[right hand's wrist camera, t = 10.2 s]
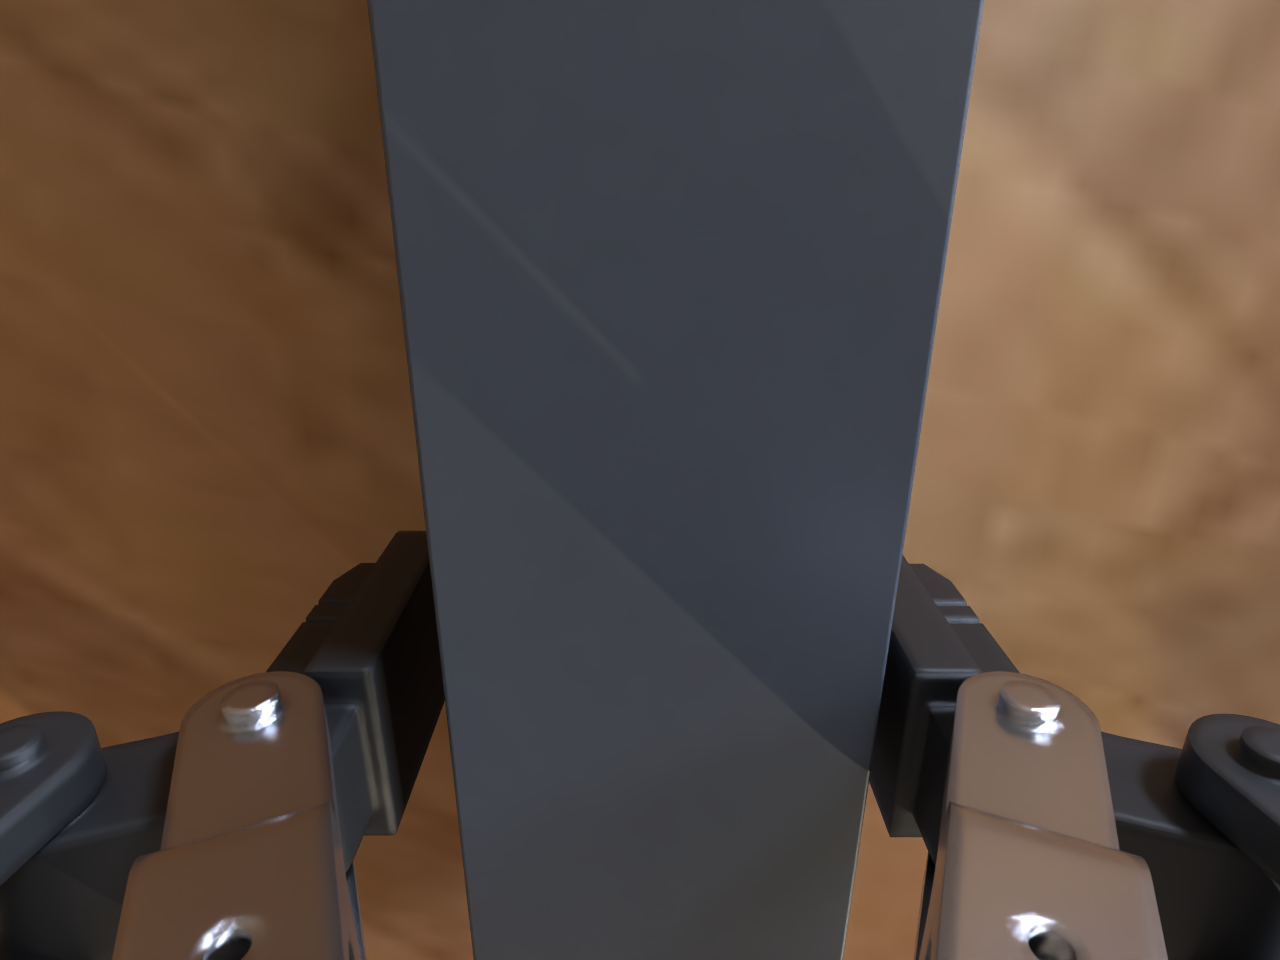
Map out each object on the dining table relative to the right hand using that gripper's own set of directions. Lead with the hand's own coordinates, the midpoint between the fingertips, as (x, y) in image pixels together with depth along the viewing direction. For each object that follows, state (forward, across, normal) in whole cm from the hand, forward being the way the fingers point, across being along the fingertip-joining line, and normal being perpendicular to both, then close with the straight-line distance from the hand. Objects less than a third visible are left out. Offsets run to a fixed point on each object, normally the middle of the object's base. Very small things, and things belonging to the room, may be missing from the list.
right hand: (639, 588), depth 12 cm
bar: (+5, 0, -18) cm, 18 cm away
